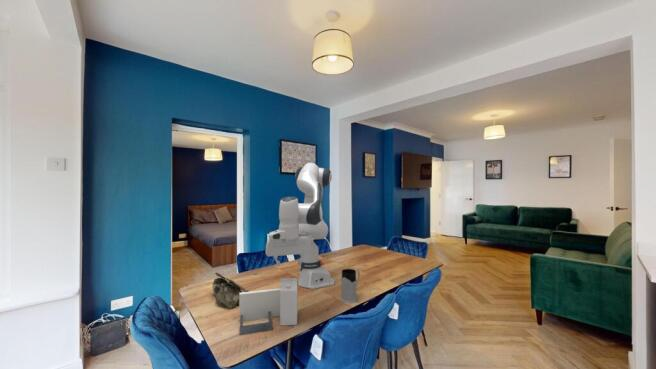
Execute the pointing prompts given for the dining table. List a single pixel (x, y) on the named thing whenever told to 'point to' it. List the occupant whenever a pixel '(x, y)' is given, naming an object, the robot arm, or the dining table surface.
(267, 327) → the cleat bracket
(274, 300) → the wall board
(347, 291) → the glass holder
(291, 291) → the milk carton
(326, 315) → the dining table surface
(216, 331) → the dining table surface
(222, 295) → the hollow geode rock
